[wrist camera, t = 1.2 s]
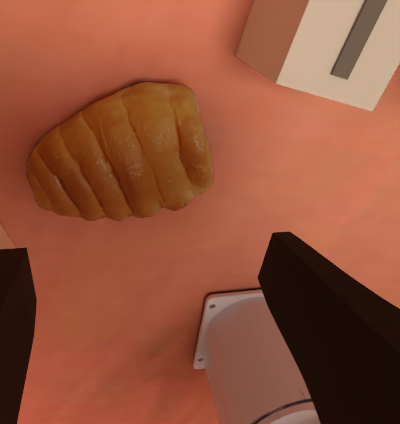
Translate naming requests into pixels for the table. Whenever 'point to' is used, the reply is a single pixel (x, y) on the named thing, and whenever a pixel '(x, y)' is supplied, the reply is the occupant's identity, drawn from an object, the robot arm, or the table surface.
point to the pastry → (124, 156)
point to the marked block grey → (325, 46)
